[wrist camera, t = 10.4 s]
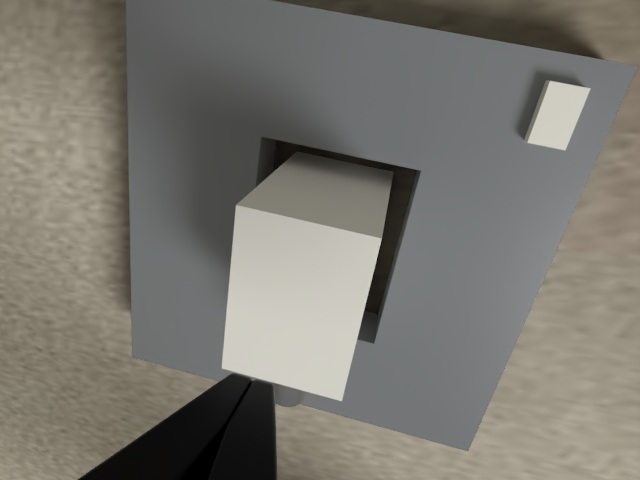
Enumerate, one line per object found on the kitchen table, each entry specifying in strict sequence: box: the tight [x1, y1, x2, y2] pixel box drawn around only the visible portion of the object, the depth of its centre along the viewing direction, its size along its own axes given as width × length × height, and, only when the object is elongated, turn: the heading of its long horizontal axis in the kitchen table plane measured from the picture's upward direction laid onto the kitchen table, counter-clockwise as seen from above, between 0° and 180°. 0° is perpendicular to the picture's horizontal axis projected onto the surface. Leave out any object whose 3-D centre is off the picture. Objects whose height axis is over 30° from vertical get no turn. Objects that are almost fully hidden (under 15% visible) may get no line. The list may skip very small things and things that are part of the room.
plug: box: [222, 152, 394, 407], centre depth 14 cm, size 7×4×6 cm, turn 171°
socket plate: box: [126, 0, 638, 451], centre depth 16 cm, size 14×14×2 cm
